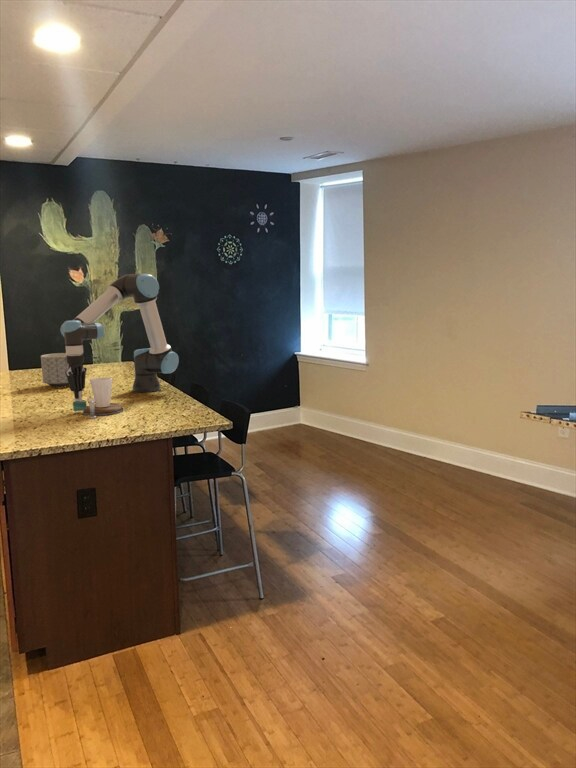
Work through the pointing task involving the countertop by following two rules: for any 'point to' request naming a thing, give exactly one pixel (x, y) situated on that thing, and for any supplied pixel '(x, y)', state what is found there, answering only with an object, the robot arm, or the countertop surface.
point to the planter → (55, 369)
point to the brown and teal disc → (98, 410)
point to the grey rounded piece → (92, 407)
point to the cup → (101, 390)
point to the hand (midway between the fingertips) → (79, 405)
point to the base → (104, 413)
